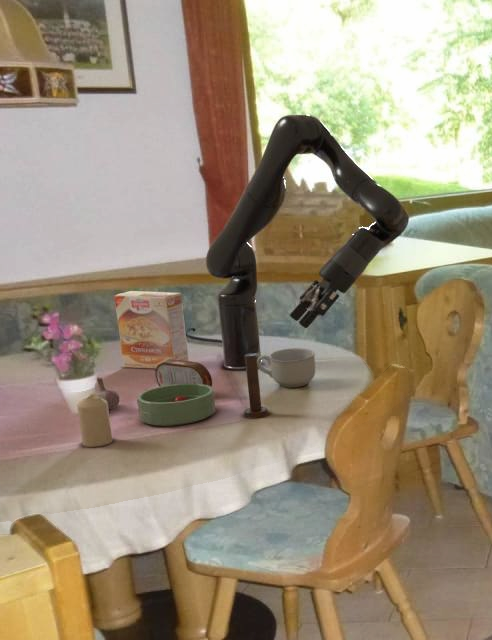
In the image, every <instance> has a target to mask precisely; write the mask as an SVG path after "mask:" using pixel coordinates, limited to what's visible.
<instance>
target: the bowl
mask: <svg viewBox="0 0 492 640" xmlns="http://www.w3.org/2000/svg"><path fill="white" fill-rule="evenodd" d="M179 396H182V397H184V398H185V399H186V400H184V401H177V402H174V399H175V398H177V397H179ZM215 399H216V398H215V390H214V387H213V386H212V387H211V386H208V385H203V384H192V383H189V384H174V385H166V386H161V387H159V386H157V387H154V388H150V389H147V390H144V391H142V392H139V394H138V395H137V396H136V401H137V408H138V409H137V410H138V416H139V421H140V422H142V423H143V424H148V425H151V426H157V427H174V426H182V425H189V424H193V423H197V422H200V421H202V420H204V419H207V418H208V417H211V416H212V415H214V414H215V412H216V411H217V409H216V408H217V407H216V400H215Z"/></svg>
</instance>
